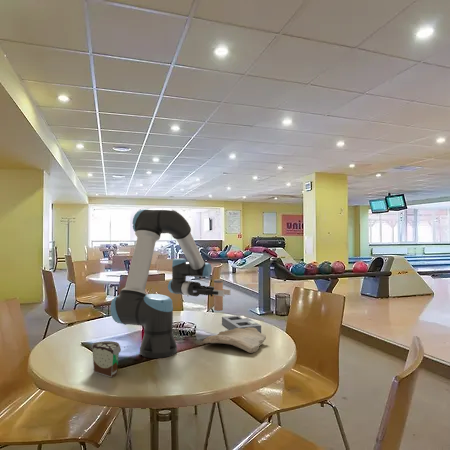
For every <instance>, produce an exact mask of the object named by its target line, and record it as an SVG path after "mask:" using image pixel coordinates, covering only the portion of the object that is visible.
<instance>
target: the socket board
mask: <svg viewBox="0 0 450 450" xmlns="http://www.w3.org/2000/svg"><path fill="white" fill-rule="evenodd" d="M221 325H222V326H224V327H225V328H226V329H228V330H233V329H235V328H241V329H245V328H248V327H250V328H256V329H257V330H258V332H260V333H261V334H262V325H261V324H259V323H258V322H256V321H254V320H252V319H251V318H248V317H247V316H246V315H243V314H240V315H237V314H236V315H230V316H229V315H228V316H222V317H221Z"/></svg>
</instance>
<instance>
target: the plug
mask: <svg viewBox="0 0 450 450" xmlns="http://www.w3.org/2000/svg"><path fill="white" fill-rule="evenodd" d="M213 284H214V285H213V287H214V290H222V291H223V289H224V279H213ZM213 302H214V303H213V306H214V307H213V311H215V312H217V311H218V312H219V311H223V310H224V296H216V295H213Z"/></svg>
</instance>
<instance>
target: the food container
mask: <svg viewBox="0 0 450 450" xmlns="http://www.w3.org/2000/svg"><path fill="white" fill-rule="evenodd" d="M91 350H92V360H93V361H92V362H93V373H96V374H99V375H102V376H106V377H108V378H109V377H110V378H114V377H115V376H116V375H117V373H118V367H119V366H118V365H119V353H121V351H122V349H121V345H120V343H119V342H117V341H111V340H110V341H109V340H104V341H95V342H93V343H92V345H91Z"/></svg>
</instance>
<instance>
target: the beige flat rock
mask: <svg viewBox="0 0 450 450" xmlns="http://www.w3.org/2000/svg"><path fill="white" fill-rule="evenodd" d="M266 340H267V337H266V335H265V334H263V333H262V332H261V333H260V332H258V330H257V329H256V328H250V327H248V328H245V329H241V328H235V329H233V330H229V329H228V330H223V331H220V332H219V333H218V334H216V335H209V336H207V337H206V338H204V339H203V340H202V342H201V344H225V345H230V346H234V347H236V348H239V349H241V350H243V351H245V352H247V353H249V354H252V353H256V352H258V351H259V348H260V347H261V346H262V345H263V343H264V342H265V341H266ZM260 345H261V346H260ZM259 346H260V347H259Z"/></svg>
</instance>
